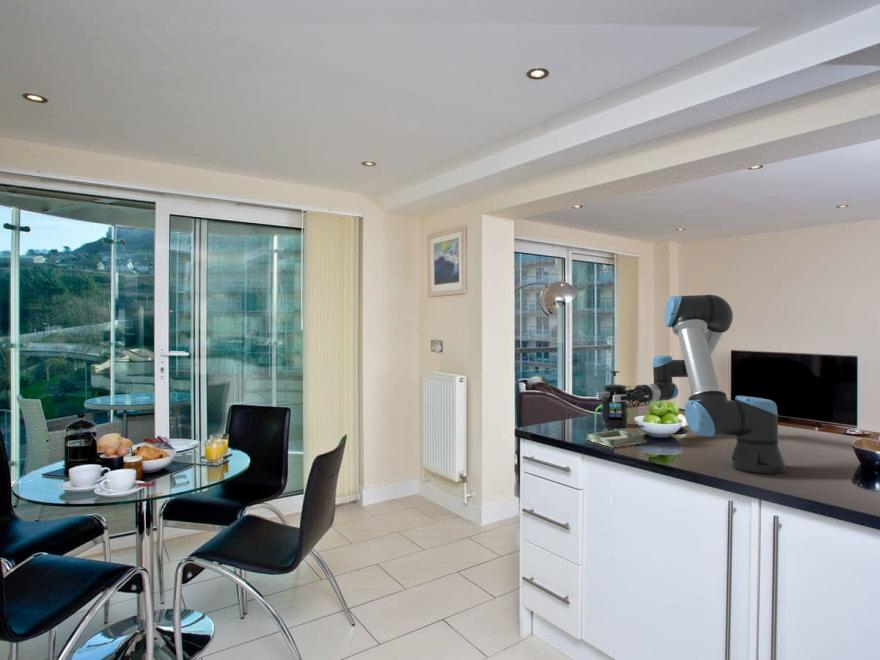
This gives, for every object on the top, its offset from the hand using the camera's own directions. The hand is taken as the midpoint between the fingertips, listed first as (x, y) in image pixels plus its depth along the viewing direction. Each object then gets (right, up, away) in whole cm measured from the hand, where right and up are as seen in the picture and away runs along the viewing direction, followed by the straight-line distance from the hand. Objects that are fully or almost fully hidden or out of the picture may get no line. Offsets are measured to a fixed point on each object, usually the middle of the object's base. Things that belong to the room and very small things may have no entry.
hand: (605, 397), depth 208 cm
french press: (+5, -13, +2) cm, 14 cm away
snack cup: (+15, -19, +37) cm, 44 cm away
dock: (+5, -19, +2) cm, 19 cm away
